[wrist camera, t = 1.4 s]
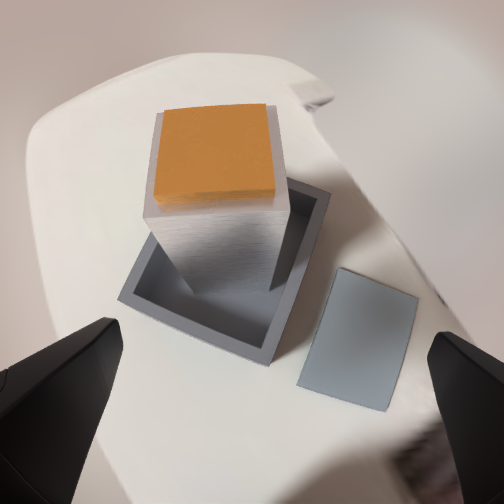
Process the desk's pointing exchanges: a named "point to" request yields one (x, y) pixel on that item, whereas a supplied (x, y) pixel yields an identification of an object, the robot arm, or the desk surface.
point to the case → (231, 305)
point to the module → (219, 195)
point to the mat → (359, 342)
